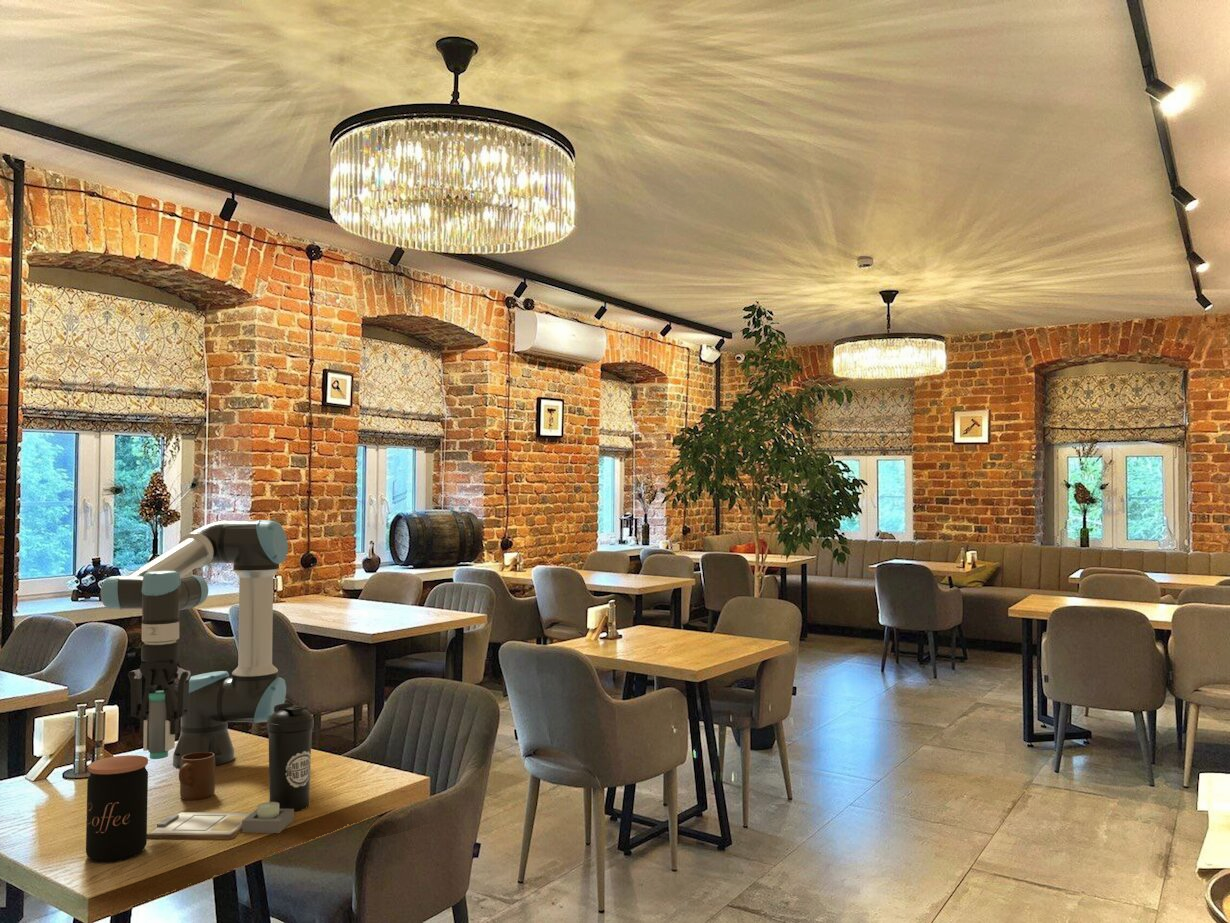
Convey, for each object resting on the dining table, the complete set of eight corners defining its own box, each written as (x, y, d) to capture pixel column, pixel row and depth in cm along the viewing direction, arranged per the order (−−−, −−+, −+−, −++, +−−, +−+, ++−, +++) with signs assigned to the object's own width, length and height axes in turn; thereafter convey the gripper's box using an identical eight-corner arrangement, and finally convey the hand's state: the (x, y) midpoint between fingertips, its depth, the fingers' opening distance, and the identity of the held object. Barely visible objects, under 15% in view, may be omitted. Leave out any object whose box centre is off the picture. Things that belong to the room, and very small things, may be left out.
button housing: (257, 819, 208) (257, 808, 208) (293, 820, 207) (293, 808, 207) (241, 832, 200) (241, 820, 200) (279, 833, 199) (279, 821, 199)
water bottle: (282, 817, 209) (284, 712, 210) (256, 808, 216) (258, 706, 216) (321, 805, 217) (323, 704, 218) (295, 797, 224) (296, 698, 225)
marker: (154, 753, 210) (155, 690, 210) (173, 754, 209) (174, 690, 210) (144, 759, 205) (144, 694, 206) (163, 759, 205) (164, 694, 206)
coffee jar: (72, 862, 183) (74, 768, 184) (111, 842, 194) (113, 753, 194) (121, 866, 181) (123, 771, 182) (158, 846, 192) (159, 756, 193)
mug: (196, 807, 216) (197, 765, 217) (164, 806, 217) (164, 765, 217) (220, 791, 228) (221, 751, 229) (189, 790, 229) (190, 751, 229)
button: (262, 815, 206) (262, 801, 206) (282, 816, 206) (282, 802, 206) (253, 822, 201) (254, 808, 202) (274, 822, 201) (274, 808, 201)
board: (179, 815, 210) (179, 808, 211) (259, 816, 210) (259, 809, 210) (145, 838, 196) (146, 830, 197) (230, 839, 196) (231, 831, 196)
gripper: (112, 644, 205) (110, 753, 204) (190, 644, 204) (189, 754, 203) (131, 638, 212) (130, 744, 212) (206, 639, 212) (205, 744, 211)
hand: (159, 748), depth 207 cm, fingers closed on marker, 4 cm apart
